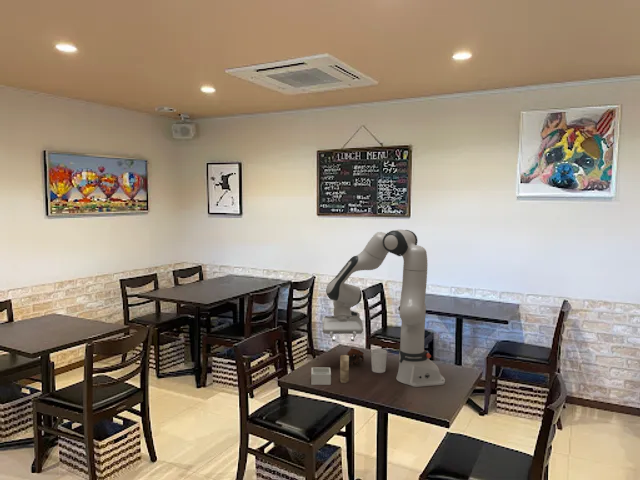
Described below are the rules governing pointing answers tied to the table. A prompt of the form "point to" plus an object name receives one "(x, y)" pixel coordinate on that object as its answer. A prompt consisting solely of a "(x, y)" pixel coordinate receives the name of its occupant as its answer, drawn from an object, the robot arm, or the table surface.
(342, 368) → the peg
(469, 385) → the table surface
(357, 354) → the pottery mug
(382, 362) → the white cup
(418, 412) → the table surface
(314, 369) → the socket box
